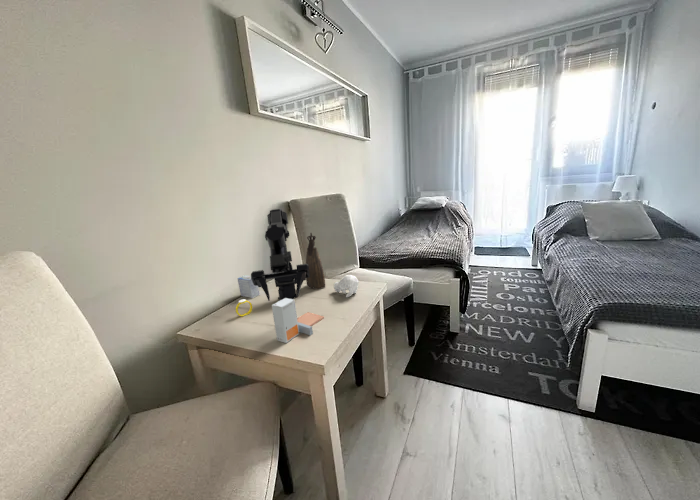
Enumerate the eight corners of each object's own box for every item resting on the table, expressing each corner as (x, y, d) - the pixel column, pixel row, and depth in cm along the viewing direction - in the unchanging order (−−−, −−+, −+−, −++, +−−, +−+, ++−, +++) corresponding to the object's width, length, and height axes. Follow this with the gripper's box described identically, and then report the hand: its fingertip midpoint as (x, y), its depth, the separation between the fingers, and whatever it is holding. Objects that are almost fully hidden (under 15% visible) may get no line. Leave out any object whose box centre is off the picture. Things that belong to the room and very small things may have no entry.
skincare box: (286, 343, 88) (280, 307, 85) (276, 340, 90) (270, 305, 87) (300, 334, 93) (295, 299, 90) (290, 331, 95) (285, 297, 92)
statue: (325, 282, 138) (318, 231, 131) (325, 288, 131) (318, 234, 124) (307, 284, 137) (299, 233, 130) (306, 291, 130) (298, 237, 123)
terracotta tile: (308, 313, 107) (307, 312, 107) (324, 318, 102) (324, 316, 102) (291, 322, 101) (291, 321, 101) (307, 328, 96) (307, 326, 96)
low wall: (284, 323, 101) (283, 317, 100) (312, 333, 92) (311, 326, 92) (281, 325, 100) (280, 318, 99) (310, 335, 91) (309, 328, 91)
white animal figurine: (348, 278, 114) (327, 276, 122) (352, 298, 116) (331, 295, 124) (358, 273, 119) (337, 272, 127) (362, 293, 120) (340, 290, 128)
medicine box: (260, 294, 130) (256, 276, 128) (252, 298, 127) (248, 279, 125) (248, 292, 135) (245, 274, 133) (240, 296, 131) (237, 278, 129)
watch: (239, 319, 108) (235, 305, 107) (236, 317, 110) (232, 303, 109) (254, 312, 112) (250, 298, 111) (251, 310, 114) (247, 296, 113)
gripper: (246, 247, 93) (247, 292, 85) (304, 240, 96) (311, 282, 88) (253, 265, 103) (255, 306, 95) (306, 257, 106) (312, 296, 98)
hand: (283, 297), depth 94 cm, fingers open, 9 cm apart
